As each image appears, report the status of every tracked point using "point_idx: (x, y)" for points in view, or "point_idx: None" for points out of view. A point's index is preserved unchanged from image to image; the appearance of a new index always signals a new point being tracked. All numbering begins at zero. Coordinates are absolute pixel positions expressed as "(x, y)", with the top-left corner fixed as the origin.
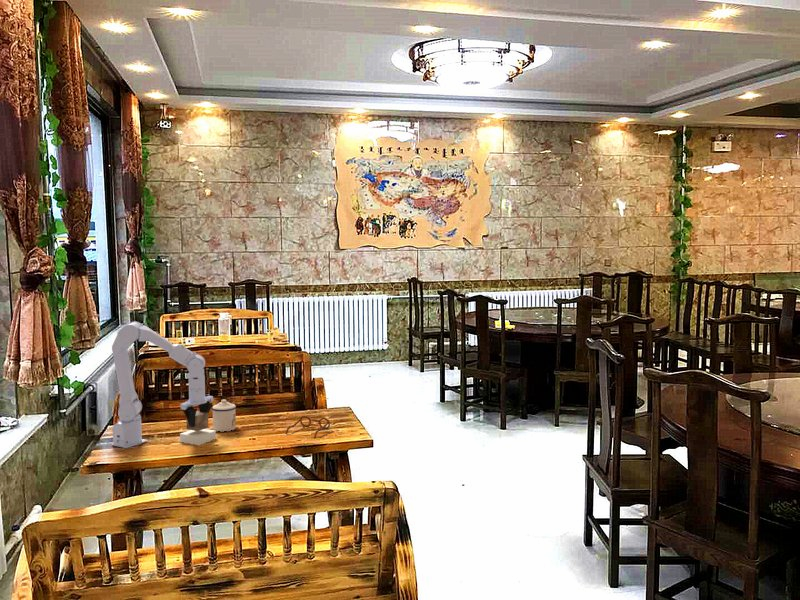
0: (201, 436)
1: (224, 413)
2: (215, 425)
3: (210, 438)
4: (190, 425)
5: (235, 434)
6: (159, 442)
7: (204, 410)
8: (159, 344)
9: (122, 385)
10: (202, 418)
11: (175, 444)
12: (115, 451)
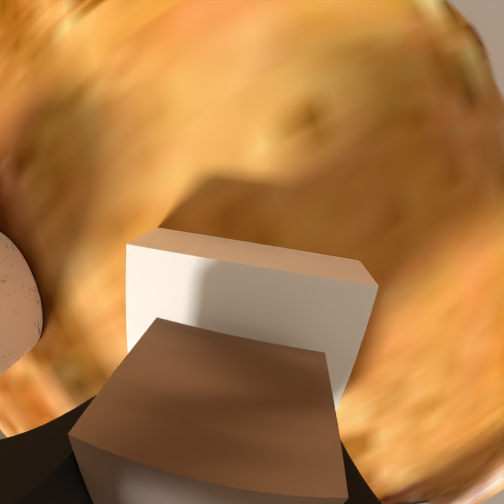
0: (341, 278)
1: None
2: (22, 335)
3: (217, 242)
4: None
5: (37, 155)
6: None
7: (69, 498)
8: None
9: None
10: (225, 433)
11: (363, 410)
12: (455, 499)
